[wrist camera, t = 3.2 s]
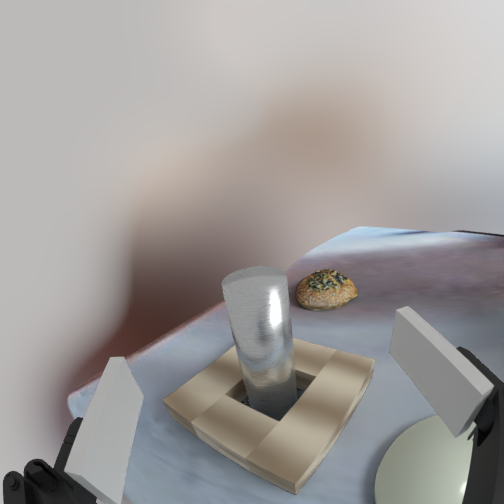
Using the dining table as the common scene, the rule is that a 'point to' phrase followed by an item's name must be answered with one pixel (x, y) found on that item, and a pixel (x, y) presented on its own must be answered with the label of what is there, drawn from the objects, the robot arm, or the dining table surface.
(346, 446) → the dining table surface
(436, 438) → the coaster
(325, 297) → the bread roll
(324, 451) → the holder block
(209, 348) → the dining table surface
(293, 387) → the canister
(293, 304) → the dining table surface
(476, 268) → the dining table surface
